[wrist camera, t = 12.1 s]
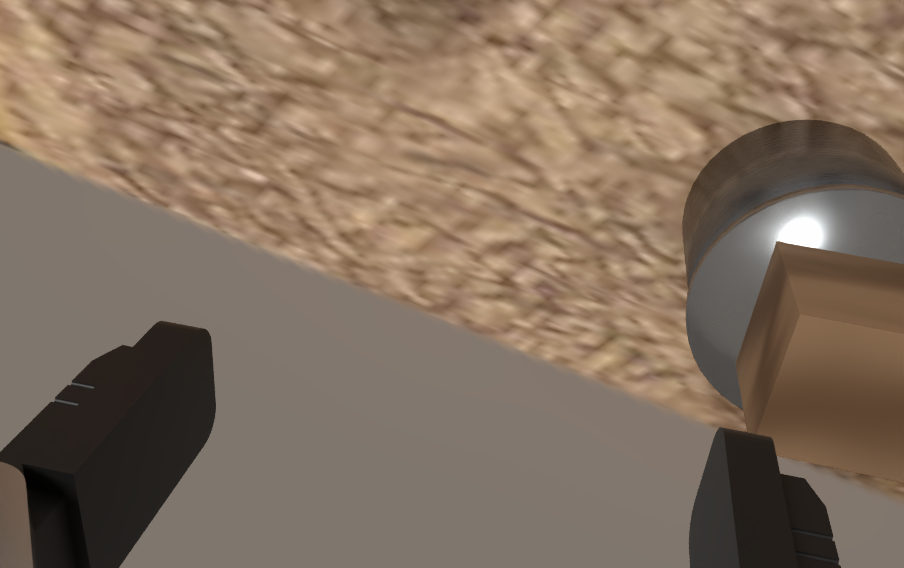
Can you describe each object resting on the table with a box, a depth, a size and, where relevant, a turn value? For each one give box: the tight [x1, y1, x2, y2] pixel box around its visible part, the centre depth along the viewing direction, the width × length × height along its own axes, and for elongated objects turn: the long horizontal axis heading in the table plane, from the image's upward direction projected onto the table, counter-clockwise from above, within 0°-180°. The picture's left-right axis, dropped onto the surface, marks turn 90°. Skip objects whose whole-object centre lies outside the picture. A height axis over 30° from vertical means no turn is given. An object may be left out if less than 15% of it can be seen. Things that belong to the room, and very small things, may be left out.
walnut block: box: [735, 241, 904, 483], centre depth 30 cm, size 6×6×6 cm
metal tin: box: [682, 120, 904, 410], centre depth 36 cm, size 10×10×9 cm
